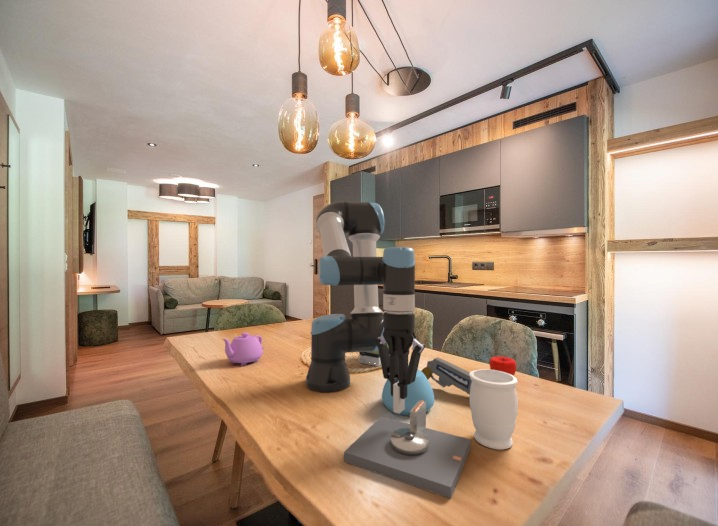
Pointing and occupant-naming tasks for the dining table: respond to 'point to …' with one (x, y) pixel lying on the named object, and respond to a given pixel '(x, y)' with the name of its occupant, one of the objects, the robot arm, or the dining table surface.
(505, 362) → the apple
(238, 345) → the teapot
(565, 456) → the dining table surface
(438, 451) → the board
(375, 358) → the tea box
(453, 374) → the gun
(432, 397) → the sugar bowl
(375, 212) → the robot arm
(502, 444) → the jar
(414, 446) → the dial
